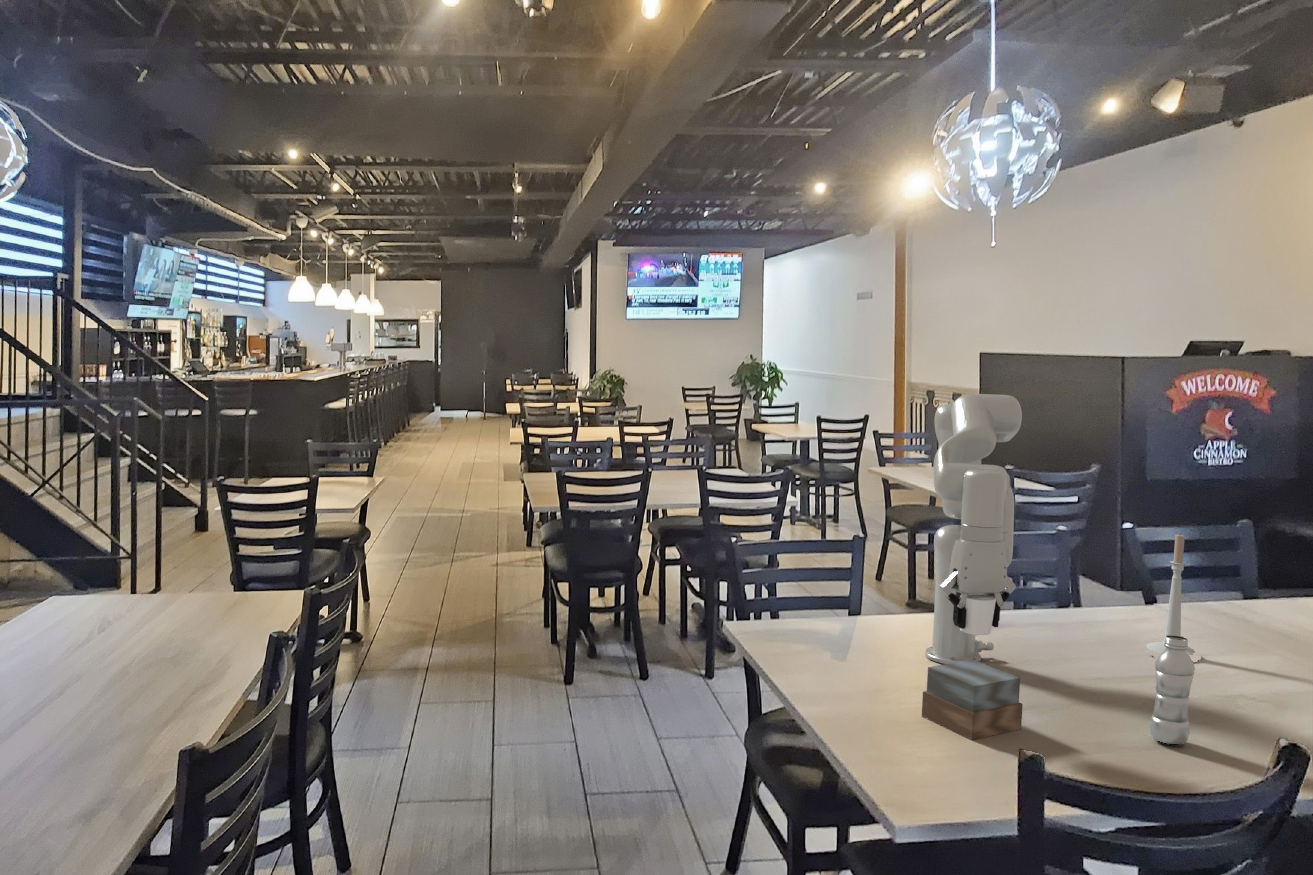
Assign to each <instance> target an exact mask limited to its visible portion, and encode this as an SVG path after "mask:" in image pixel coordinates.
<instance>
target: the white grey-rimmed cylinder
mask: <svg viewBox="0 0 1313 875" xmlns="http://www.w3.org/2000/svg"><path fill="white" fill-rule="evenodd" d="M960 596H961V595H960ZM966 599H967V600H966V602H965V605H964V608H966V627H965V628H964V629H961V628H960V630H961V631H962V632H965V633H968V634H973V635H975V636H988V635H990V634H991V632H992V627H993V626H992V621H993V615H994V609H995V603H996V597H994V596H993V595H990V594H988V593H987V594H969V596H968V598H966Z"/></svg>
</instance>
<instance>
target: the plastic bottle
mask: <svg viewBox="0 0 1313 875" xmlns="http://www.w3.org/2000/svg"><path fill="white" fill-rule="evenodd" d="M1164 637H1165V636H1164ZM1188 642H1189V639H1188V638H1187V637H1185V636H1183V635H1182V636H1177V635H1166V637H1165V643H1164V646H1165V647H1166V649H1165V650H1164V651H1163V652H1162V653H1161V654H1160V655H1159V656H1158V658H1157V659H1156V660H1155V663H1154V664H1155V665H1154V666H1155V667H1154V668H1155V669H1154V670H1155V681H1156V682H1155V683H1156V685H1155V700H1154V701H1155V702H1154V707H1153V712H1152V715H1151V719H1150V722H1149V732H1150V735H1151V737H1152V739H1153V738H1154V739H1153V740H1155V741H1156V740H1157V741H1156V742H1158V741H1160V742H1159V743H1161V742H1163V743H1162V744H1164V743H1167V744H1166V745H1169V744H1183V743H1184V744H1186V743H1187V742H1188V741H1189V740H1188V739H1189V737H1190V733H1191V730H1190V721H1189V699H1190V698H1189V697H1190V693H1191V686H1192V683H1193V679H1194V674H1195V670H1196V667H1195V663H1193V661H1192V660H1191V658H1190V656H1189V655H1188V654H1187V652H1186V650H1187V649H1188V647H1189V646H1188ZM1184 744H1183V745H1184Z"/></svg>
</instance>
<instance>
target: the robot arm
mask: <svg viewBox="0 0 1313 875" xmlns="http://www.w3.org/2000/svg"><path fill="white" fill-rule="evenodd" d="M1022 420H1023V412H1022V407H1021V404H1020V402H1019V401H1018V399H1017V398H1015V396H1013V395H1010V394H1009V395H1008V394H991V393H990V394H988V393H987V394H986V393H968V394H963V395H961V396H959V397H958V398H957V399H955V401H954V402H953V403H948V404H944V405H941V406H939V407H938V408H937V409H936V410H935V413H934V421H933V422H934V431H935V435H936V438H937V442H938V445H939V448H938V449H937V451H936V453H935V455H934V460H933V466H932V467H933V469H932V470H933V486H934V491H935V492H936V495H937V496H938V498H941V499H942V500H941V501H942V502H941V504H942V505H941V506H942V510H943V513H944V515H945V516H946V517H949V518H951V519H956V520H960V524H951V525H949V524H948V525H945V526H941V527H939V528H938V529H937V531H936V532H935V534H934V537H933V538H934V539H933V548H934V549H933V550H934V551H933V552H934V557H935V558H934V559H935V560H934V561H935V590H934V593H935V594H934V611H933V612H934V613H933V631H932V646H929V647H927V648H925V654H924V655H925V657H926V658H928V659H929V660H931V661H933V662H936V663H940V664H941V665H944V664H950V663H956V662H962V661H968V660H975V661H978V662H980V663H982V662H981V661H982V656H981V654H980V653H981V652H982V651H985V652H986V651H989V652H990V651H994V648H995V647H994V643H993V642H992V641H990V642H989V641H988V642H987V641H986V642H983V641H982V640H978V639H976V635H973V634H968V633H965V632H962V631H961V630H960V628H961V629H964V628H965V627H966V608H964V605H965V602H966V600H967V599H966V598H968V596H969V594H990V595H993V596H994V597H996V603H995V609H994V615H993V621H992V627H993V628H998V627H999V622H1000V618H1001V607H1003V606H1004V603H1005V602H1006V600H1007V599H1009V597H1010V595H1011V594H1012V593H1013V592H1014V591H1015V590H1016V588H1017V585H1016V584H1015V583H1014V582H1013V580H1012V579H1011V578H1010V577H1009V576H1008V567H1009V566H1010V565H1011V563H1012V560H1013V553H1014V551H1013V550H1014V526H1015V525H1014V522H1015V498H1014V497H1015V496H1014V492H1013V489H1012V487H1011V477H1010V475H1009V474H1008V472H1007V470H1006V468H1004V467H1002V466H1000V465H995V464H982V459H985V458H987V457H988V456H989V455H991V453H993V451H994V450H995V448H996V444H997V443H1007V442H1009V441H1011V440H1012V439H1013V438H1014V437H1015V436H1016V435H1017V434H1018V432H1019V430H1020V428H1021V425H1022ZM960 595H961V596H960Z"/></svg>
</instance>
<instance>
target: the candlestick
mask: <svg viewBox="0 0 1313 875" xmlns="http://www.w3.org/2000/svg"><path fill="white" fill-rule="evenodd" d="M1174 537H1175V538H1174V549H1173V560H1170V561H1169V563H1170V564H1171V570H1172V573H1173V575H1172V577H1171V584H1170V586H1171V587H1170V591H1169V593H1170V594H1169V601H1168V608H1167V616H1166V624H1165V630H1164V634H1163V635H1164V638H1163V640H1162V641H1153V642H1150V643H1146V644H1145V645H1146V646H1147V648H1148V649H1150V650H1153V651H1154V652H1158V653H1162V652H1163V651H1164V650H1165V649H1166V647H1165V646H1164V643H1165V637H1166V635H1177V636H1181V635H1182V634H1181V633H1182V632H1181V630H1182V628H1181V627H1182V625H1181V624H1182V622H1181V621H1182V579H1183V578H1182V572H1183V571H1184V570H1185V569H1184V568H1185V567H1184V566H1186V565H1187V562H1184V549H1185V535H1184V534H1175V535H1174ZM1194 650H1195V649H1194V648H1192V647H1189V646H1188V649H1187V650H1186V652H1187V654H1188V655H1193V653H1195V651H1196V650H1195V651H1194Z"/></svg>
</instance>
